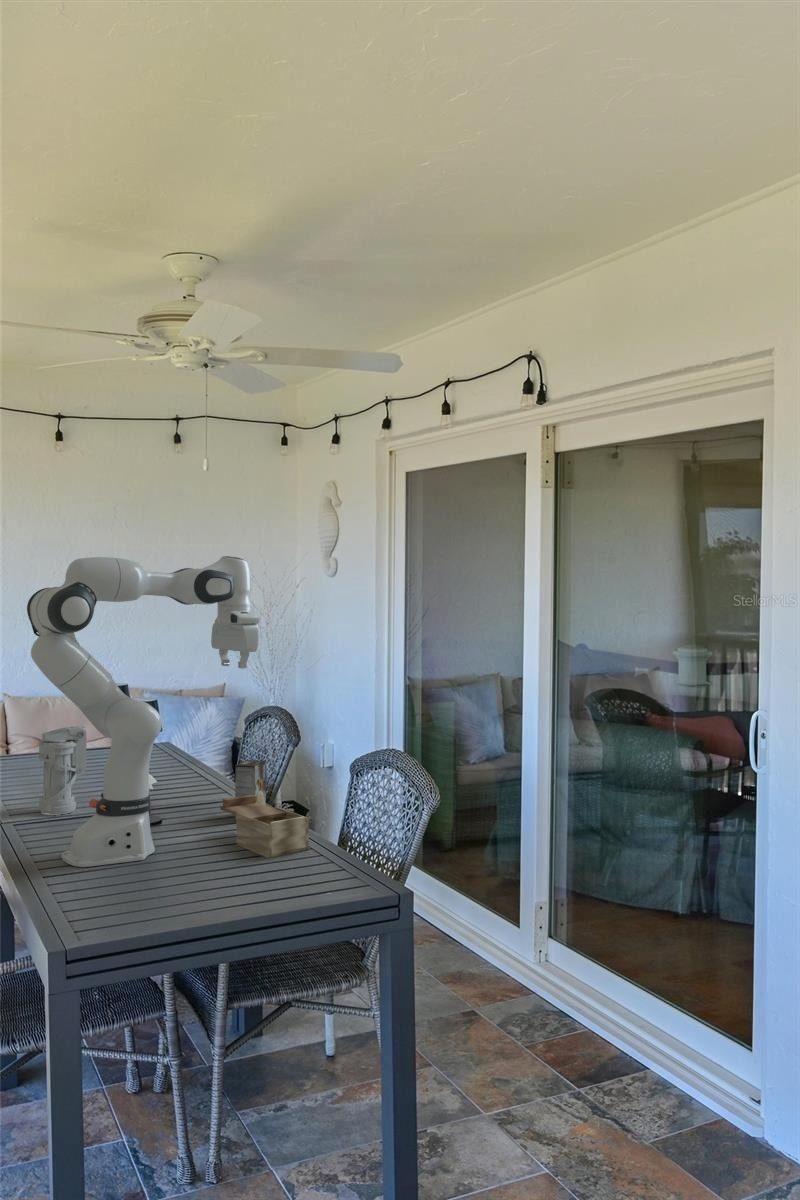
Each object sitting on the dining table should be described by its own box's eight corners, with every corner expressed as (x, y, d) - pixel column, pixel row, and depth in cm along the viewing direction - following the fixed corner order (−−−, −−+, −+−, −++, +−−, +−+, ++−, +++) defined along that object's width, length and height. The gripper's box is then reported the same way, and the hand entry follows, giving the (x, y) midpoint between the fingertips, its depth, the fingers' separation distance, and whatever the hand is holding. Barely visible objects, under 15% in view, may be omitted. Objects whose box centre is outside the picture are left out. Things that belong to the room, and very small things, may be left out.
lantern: (43, 817, 284) (43, 731, 283) (36, 810, 293) (36, 727, 292) (88, 812, 290) (88, 728, 290) (80, 805, 299) (80, 724, 299)
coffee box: (245, 813, 291) (245, 759, 291) (266, 814, 290) (266, 760, 289) (234, 820, 282) (234, 764, 282) (255, 821, 281) (255, 765, 280)
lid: (251, 821, 251) (251, 810, 251) (220, 809, 264) (220, 799, 264) (285, 815, 258) (285, 804, 258) (254, 804, 271) (254, 794, 271)
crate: (268, 857, 243) (268, 823, 243) (236, 844, 256) (236, 811, 256) (308, 849, 251) (308, 816, 251) (275, 837, 263) (276, 805, 263)
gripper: (205, 615, 272) (205, 665, 272) (242, 617, 256) (241, 670, 256) (225, 615, 276) (225, 664, 276) (263, 617, 260) (262, 669, 260)
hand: (233, 667), depth 266 cm, fingers open, 8 cm apart
